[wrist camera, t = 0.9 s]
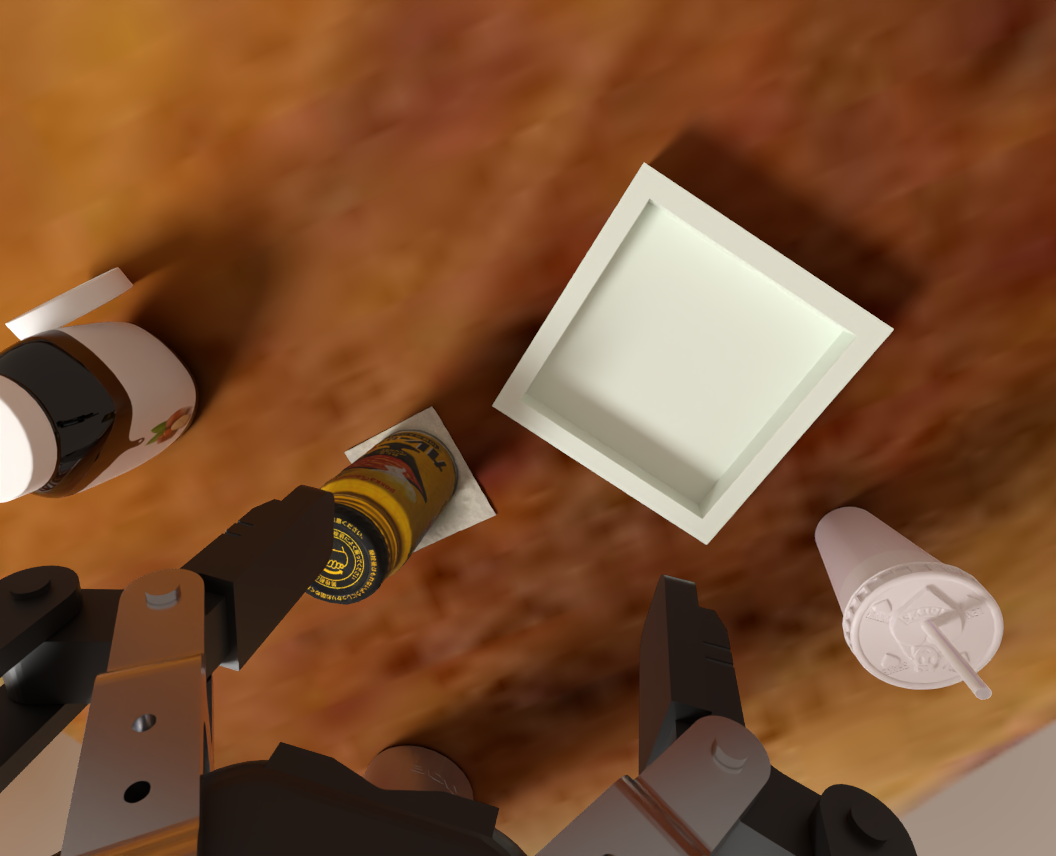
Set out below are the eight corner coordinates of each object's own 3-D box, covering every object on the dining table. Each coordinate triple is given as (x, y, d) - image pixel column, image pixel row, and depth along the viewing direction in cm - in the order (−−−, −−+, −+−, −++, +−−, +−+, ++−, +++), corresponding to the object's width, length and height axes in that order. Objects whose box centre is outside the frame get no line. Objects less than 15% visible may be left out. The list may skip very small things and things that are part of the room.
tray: (700, 522, 36) (706, 545, 33) (502, 393, 36) (491, 405, 33) (869, 322, 31) (894, 329, 28) (642, 170, 31) (643, 162, 28)
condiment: (432, 405, 37) (348, 472, 26) (496, 513, 38) (443, 622, 27) (345, 451, 39) (231, 532, 28) (409, 552, 40) (326, 669, 29)
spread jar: (159, 472, 42) (-6, 550, 31) (38, 363, 41) (-178, 404, 30) (246, 360, 38) (93, 403, 27) (114, 236, 37) (-101, 229, 26)
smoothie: (905, 481, 33) (1089, 630, 20) (904, 577, 35) (1072, 772, 22) (789, 490, 35) (891, 637, 22) (793, 583, 36) (890, 771, 23)
